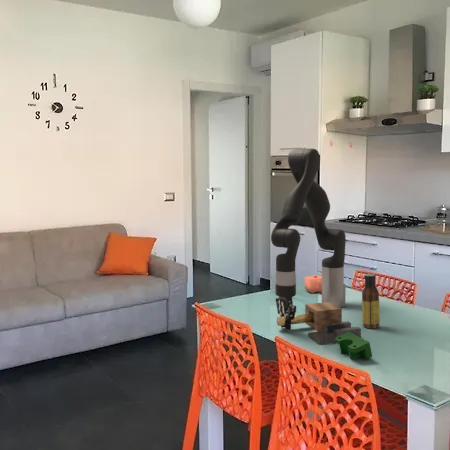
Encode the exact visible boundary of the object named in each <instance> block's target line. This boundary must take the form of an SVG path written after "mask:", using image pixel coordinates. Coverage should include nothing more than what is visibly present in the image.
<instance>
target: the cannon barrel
mask: <svg viewBox="0 0 450 450" xmlns="http://www.w3.org/2000/svg"><path fill="white" fill-rule="evenodd" d="M309 322H314V313H311V314H305V313H303V314H295V317H294V319H293V320H291V326H292V325H299V324H306V323H309ZM276 325H277V326H278V327H281V326H283V325H285V317H280V316H278V317H276Z"/></svg>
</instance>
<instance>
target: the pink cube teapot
mask: <svg viewBox="0 0 450 450" xmlns="http://www.w3.org/2000/svg"><path fill="white" fill-rule="evenodd" d="M304 290H306V291H307V292H309V293H311V294H312V295H313V294H315V293H316V292H318V293H319V294H322V275H317V274H313V275H310V276H309V275H308V276H304Z"/></svg>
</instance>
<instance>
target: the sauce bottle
mask: <svg viewBox="0 0 450 450" xmlns="http://www.w3.org/2000/svg"><path fill="white" fill-rule="evenodd" d="M363 276H364V277H363V278H364V287H363V289H362V290H361V296H362V297H361V310H362V311H361V312H362V314H361V316H362V320H361V321H362V325H363V327H364V328H366V329H372V330H375V329H379V327H380V323H381V320H380V317H381V316H380V297H379V295H380V293H379V291H378V289H377V286H376V285H377V284H376V278H377V277H376V274H374V273H365V274H364V275H363Z"/></svg>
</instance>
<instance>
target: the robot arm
mask: <svg viewBox="0 0 450 450" xmlns="http://www.w3.org/2000/svg"><path fill="white" fill-rule="evenodd" d="M287 163H288V167H289V170H290V172H291V173H292V174H291V175H292V176H293V178H294V179H295V182H296V186H295V187H294V188H293V189H292V190H291V191H290V193H289V194H288V195H287V197H286V198H285V201H284V203H283V208H282V212H281V216H280V217H279V219H278V221H277V222H276V224H275V226H274V227H273V229H272V231H271V235H270V241H271V243H272V245H273V247H277V248H285V249H286V252H285V253H280V254H277V255H276V256H275V257H276V258H275V275H274V276H275V279H274V280H275V281H274V282H275V284H274V285H275V288H274V289H275V290H274V291H275V292H274V293H275V296H277V298H275V304H276V311H277V314H278V315H279V317H285V325H283V326H280V327H281V328H284V330H285V331H290V330H291V329H292V325H291V320H293V319H294V317H295V315H296V313H297V312H296V311H297V306H296V305H294V302H293V297H295V296H296V295H297V274H296V259H297V254H298V250H299V247H300V242H301V235H300V232H299V231H298V230H297V229H295V228H290V227H292V226H295V225H298V224H300V221H301V219H302V214H303V210H304V206H305V207H306V209H307V212H308V214H309V216H310V219H311V222H312V225H313V229H314V234H315V237H316V240H317V244H318V246H319V248H320V249H322V250H324V251H332V252H333V254H332V256H329V257H325V258H323V259H321V277H322V293H321V303H324V302H330V303H332V304H334V305H336V306H338V307H340V308H343V307H346V296H347V295H346V292H347V291H346V290H347V289H346V284H345V283H344V280H345V279H344V278H345V257H346V240H347V239H346V238H347V236H346V233H345V232H346V231H344V230H343V229H338V228H328V227H327V226H326V220H327V217H328V215H329V213H330V210H331V203H330V200H329V197H328V195H327V192H326V191H325V189H324V188H323V187H322V186H321V185H320V184H319V183H317V182H316V181H315V178H316V175H317V172H318V171H319V168H320V165H321V164H320V163H321V155H320V152H319V151H318V150H317V149H315V148H295V149H291V150H290V151H289V152H288V155H287Z"/></svg>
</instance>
